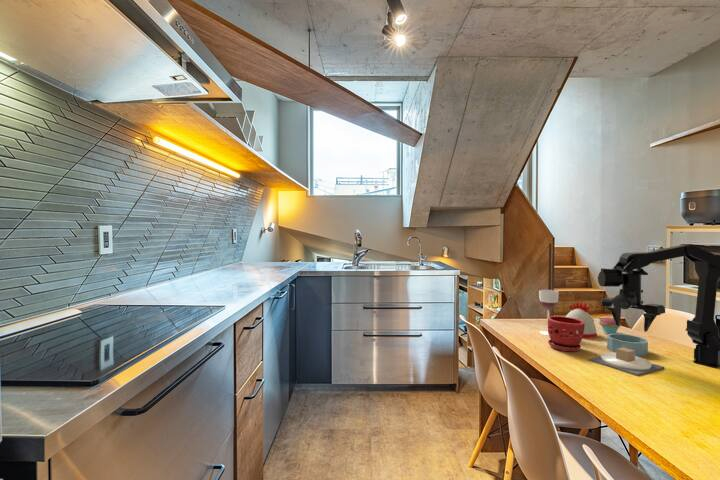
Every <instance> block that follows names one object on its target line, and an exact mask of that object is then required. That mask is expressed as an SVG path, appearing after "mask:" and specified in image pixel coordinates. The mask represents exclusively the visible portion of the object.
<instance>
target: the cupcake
mask: <svg viewBox="0 0 720 480" xmlns="http://www.w3.org/2000/svg"><path fill="white" fill-rule="evenodd" d="M611 315H612V314H611ZM598 324H599V326H601V327H602V330H603V333H606V334H617V331H618V329H619V328H621V326H622V324H621V321H620V325H619V326H617V325H616V322H615V320H614V317H613V315H612V316H611V317H603V318H600V320H599V321H598Z"/></svg>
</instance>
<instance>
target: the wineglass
mask: <svg viewBox="0 0 720 480" xmlns="http://www.w3.org/2000/svg"><path fill="white" fill-rule="evenodd" d="M559 295H560V293H559V290H554V289H539V291H538V297H539V303H540V304H541V307H543V308H544V309H546V310H547V319H546V321H547V323H546V325H547V330H546V331H545V330H542V331H539V333H540V335H544V336H549V334H548V317H550V310H552V309H554V308H556V307H557V305H558V302H559V297H560V296H559Z"/></svg>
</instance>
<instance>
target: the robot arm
mask: <svg viewBox="0 0 720 480" xmlns="http://www.w3.org/2000/svg"><path fill="white" fill-rule="evenodd" d="M682 257H685V258H686V259H687V260H688V261H690V262H691V263H693V264H694V271H695V273H696V275H697V277H698V283H697V284H698V285H697V297H696V306H695V315H694V317H693V318H692V319H691V320H690V319H687V320H686V328H685V331H686V332H687V335H688V337H690V339H691V341H692V344H695V348H693V360H692V362H693V363H695V364H700V365H703V366H708V367H712V368H720V333H719V326H718V325H717V324H716V321H715V311H716V301H717V289H718V281H719V279H720V254H714V253H713V252H710V251H708V250H705V249H702V248H700V247H698V246H696V245H694V244H691V243H682V244H679V245H675V246H669V247H665V248H661V249H660V248H659V249H656V250H655V249H654V250H650V251H643V252H641V251H640V252H624V253H622V254H621V255H620V257H619V259H618V261H617V262H616V264H615V265H614V266H613V267H612V268H603V267H602V268H600V272H599V273H598V275H597V282H598V285H599V286H600V287H604V288H605V287H617V288H618V287H620V286H621V288H620V289H619V292H618V294H616V295H615V296H614V297H605V298H604V297H603V298H602V299H601V300H600V301H601V305H600V306H602V307H604V308H605V309H607V310H608V311H609V312H610V313H611V315H613V317H614V320H615V322H616V325H617V326H619V325H620V322H621V316H622V315H621V314H622V313H621V312H622V310H628V309H636V310H642V311H643V312H644V313H642V315H643V318H644V320H643V323H644V324H643V330H644V332H645V333H646V332H648V330H649V329H650V327H651V325H652V323H653V322H654V320H655V319H656V318H657V316H661V314H662V315H663V314H665V313H666V307H665V306H664V305H663V304H658V303H647V304H644V300H642V293H644V290H643V289H642V276H649V273H648V272H647V271H645V270H644V268H645V267H648V266H650V265H651V264H653V263H656V262H662V261H667V260H672V259H676V258H682Z"/></svg>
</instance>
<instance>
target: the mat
mask: <svg viewBox="0 0 720 480" xmlns="http://www.w3.org/2000/svg"><path fill="white" fill-rule="evenodd" d="M588 361H590V362H594V363H597V364H600V365H603V366H605V367H608V368H612V369H615V370H618V371H621V372H624V373H626V374H629V375H633V376H636V377H637V376H641V375H645V374H650V373H653V372H657V371H660V370H664V369H665V366H662V365H660V364H656V363H654V362H653V363H652V362H651V363H652V368H651V369H649V370H631V369H625V368H620V367H616V366H613V365H610V364H607V363H605V362H603V361H602V360H601V355H599V356H594V357H590V358H588Z"/></svg>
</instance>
